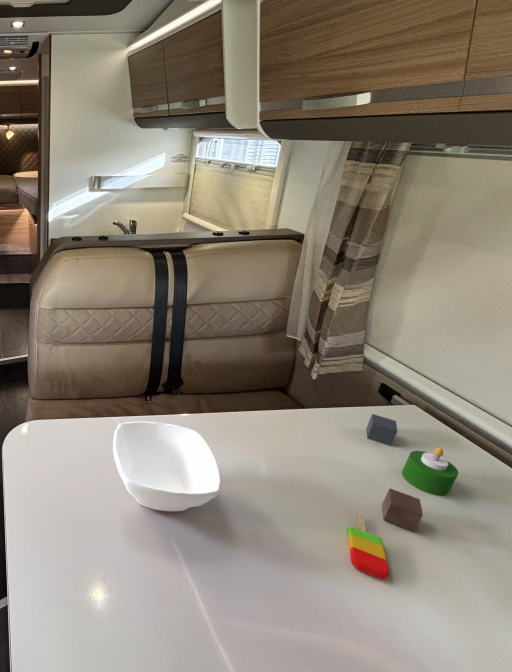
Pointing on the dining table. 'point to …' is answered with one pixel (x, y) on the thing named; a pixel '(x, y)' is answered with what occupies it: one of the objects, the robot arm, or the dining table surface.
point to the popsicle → (367, 551)
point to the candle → (430, 472)
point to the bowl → (165, 465)
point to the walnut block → (402, 510)
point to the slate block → (381, 429)
